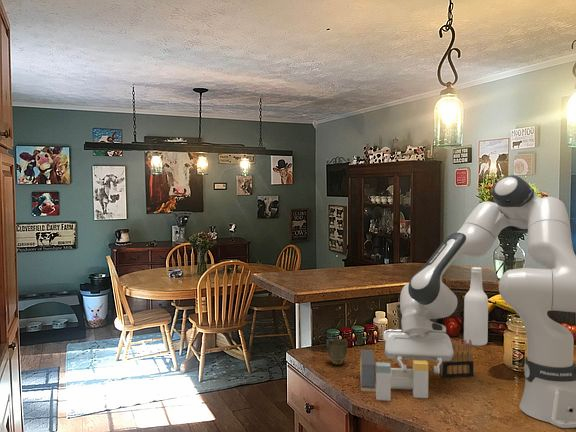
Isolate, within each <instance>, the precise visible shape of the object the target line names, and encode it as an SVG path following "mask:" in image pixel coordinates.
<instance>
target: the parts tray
mask: <svg viewBox="0 0 576 432" xmlns="http://www.w3.org/2000/svg"><path fill="white" fill-rule="evenodd" d="M391 389H395V390H413V368H407V371H406V372H401V367H399V368H398V367H391Z"/></svg>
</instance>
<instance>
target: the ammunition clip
mask: <svg viewBox="0 0 576 432" xmlns="http://www.w3.org/2000/svg"><path fill="white" fill-rule="evenodd" d="M452 347H453V352H454V355H453V358H452V359H451V360H450V361H442V363H441V365H440V367H439V369H440V373H439V376H440V377H441V378H442V379H447V378H449V379H451V378H468V377H469V378H470V377H471V378H472V377H475V376H474V375H475V374H474V373H475V372H474V369H475V368H474V358H473V356H474V353H473V345H472V342H471V339H470V340H469V344H467V343H466V340H464V339H463V344H462V341H461V339H459V340H458V341H457V342H456V340H455V339H454V340H453V342H452Z"/></svg>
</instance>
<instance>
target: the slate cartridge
mask: <svg viewBox="0 0 576 432" xmlns="http://www.w3.org/2000/svg"><path fill="white" fill-rule="evenodd" d="M391 368H392V366H391V363H390V362H380V361H379V362H377V361H375V382H376V392H375V398H376V399H375V400H376V401H388V402H389V401H391V392H392V391H391Z"/></svg>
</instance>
